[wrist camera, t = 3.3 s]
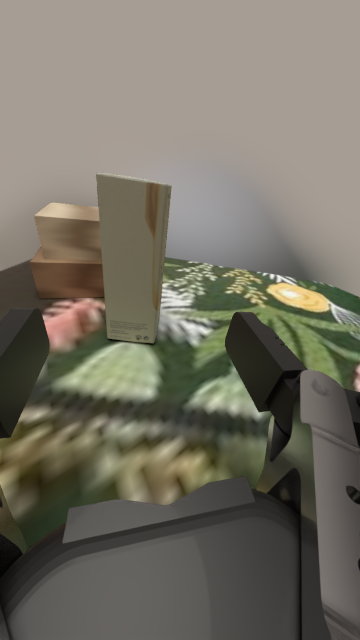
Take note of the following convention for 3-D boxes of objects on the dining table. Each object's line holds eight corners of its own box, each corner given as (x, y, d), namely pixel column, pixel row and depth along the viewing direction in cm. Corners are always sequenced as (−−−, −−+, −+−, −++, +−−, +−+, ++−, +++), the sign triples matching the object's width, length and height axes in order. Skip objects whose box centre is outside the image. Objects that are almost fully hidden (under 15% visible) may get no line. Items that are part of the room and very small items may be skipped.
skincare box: (155, 345, 19) (169, 183, 12) (105, 340, 18) (91, 170, 12) (160, 309, 24) (173, 182, 17) (122, 304, 24) (120, 173, 17)
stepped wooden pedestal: (131, 264, 34) (132, 210, 30) (142, 296, 26) (145, 227, 21) (55, 262, 31) (43, 200, 26) (39, 298, 22) (17, 216, 18)
